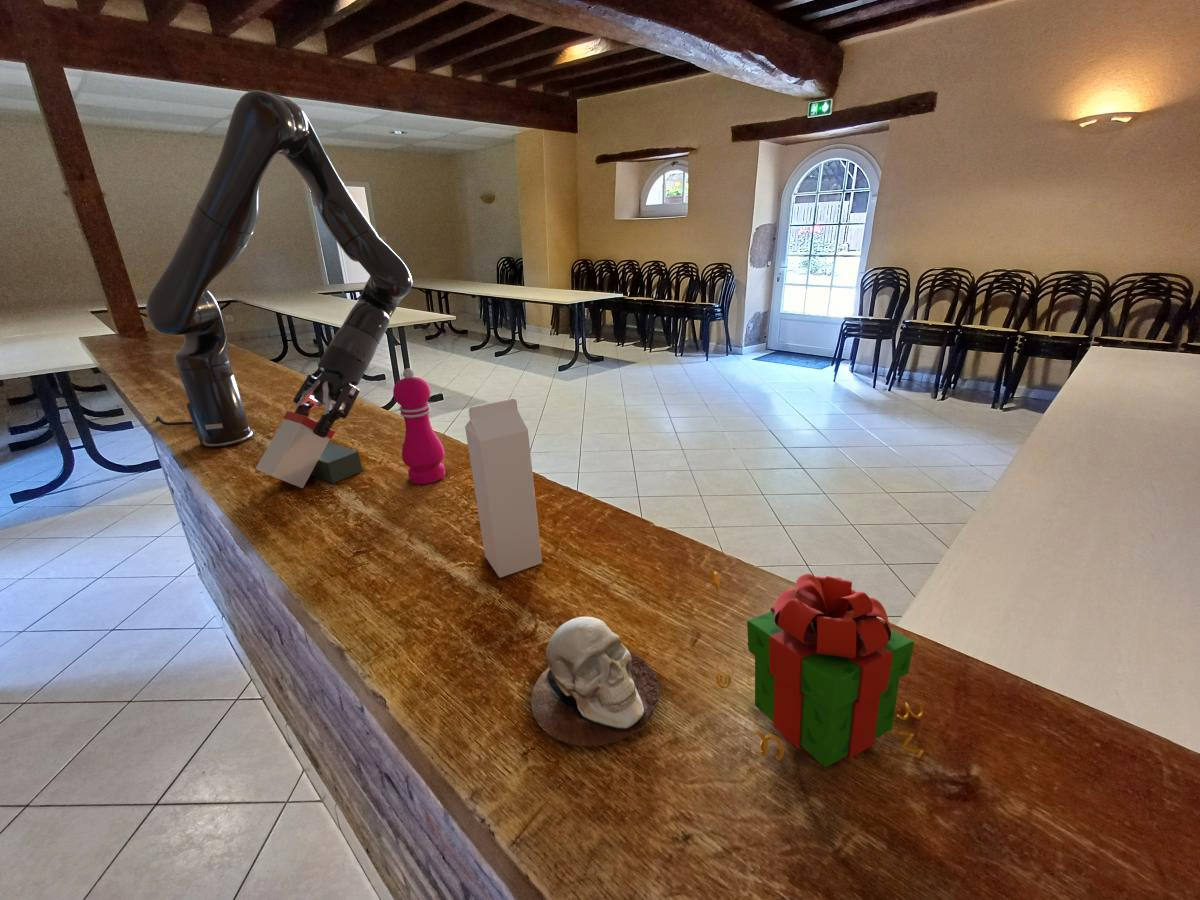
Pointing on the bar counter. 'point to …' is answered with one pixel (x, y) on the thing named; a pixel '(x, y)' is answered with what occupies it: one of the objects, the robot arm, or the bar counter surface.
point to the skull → (592, 686)
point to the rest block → (337, 463)
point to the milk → (504, 486)
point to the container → (294, 450)
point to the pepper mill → (418, 430)
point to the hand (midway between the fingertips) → (305, 431)
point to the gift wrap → (827, 669)
